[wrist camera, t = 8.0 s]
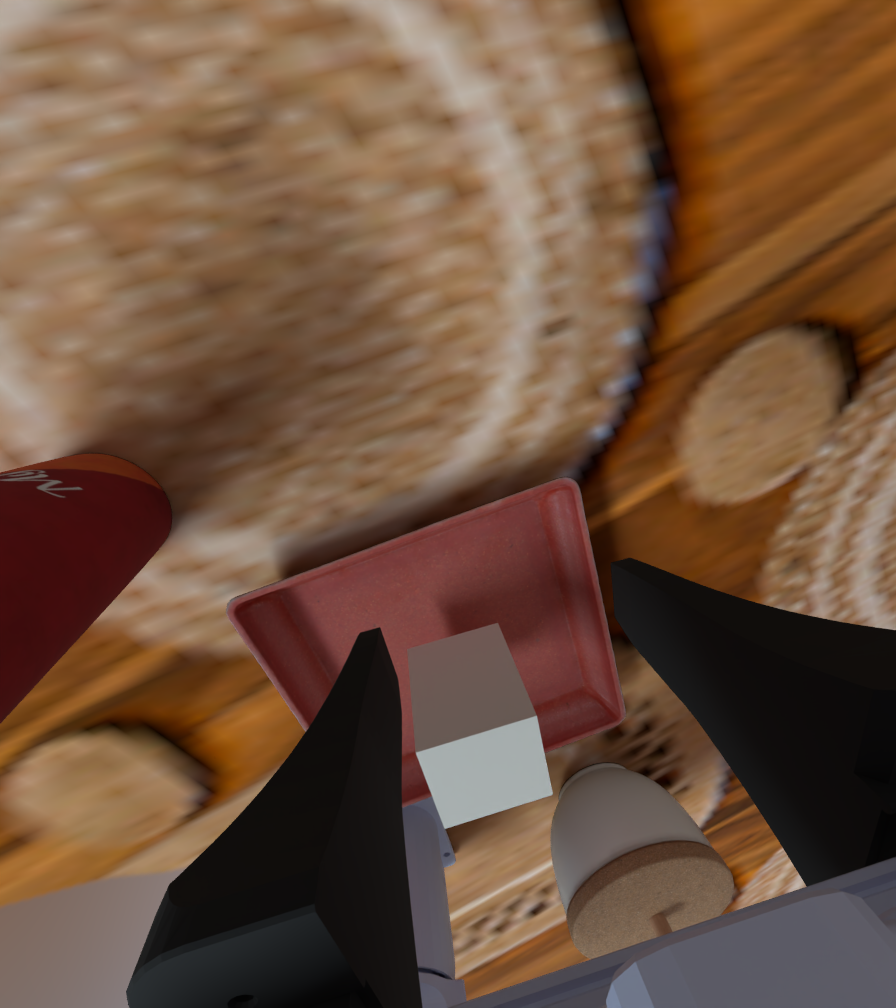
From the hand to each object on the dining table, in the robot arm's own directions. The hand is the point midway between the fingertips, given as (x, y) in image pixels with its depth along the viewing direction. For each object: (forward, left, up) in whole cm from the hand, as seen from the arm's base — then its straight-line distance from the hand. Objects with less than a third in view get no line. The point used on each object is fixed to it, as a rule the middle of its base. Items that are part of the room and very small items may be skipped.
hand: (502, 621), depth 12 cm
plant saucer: (-9, +2, -11) cm, 15 cm away
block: (-9, +2, -8) cm, 12 cm away
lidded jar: (-27, -6, -11) cm, 30 cm away
